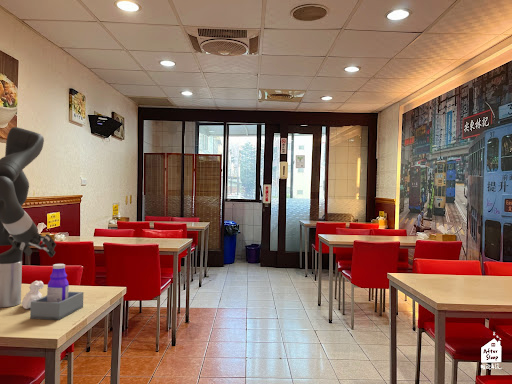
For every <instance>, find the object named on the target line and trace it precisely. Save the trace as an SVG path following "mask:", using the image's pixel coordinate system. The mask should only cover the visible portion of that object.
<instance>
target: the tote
mask: <svg viewBox="0 0 512 384" xmlns="http://www.w3.org/2000/svg"><path fill="white" fill-rule="evenodd" d="M82 308H84V291H68V298H67V299H65V300H63V301H61V302H47V295H44V296H42V298H39V299H37V300H35V301H32V302H31V308H30V309H29V310H30V314H29V316H30V317H29V318H30V319H32V320H51V321H60V320H62V319H64V318H66V317H68V316H69V315H71V314H73V313H75V312H77V311H79V310H81V309H82Z"/></svg>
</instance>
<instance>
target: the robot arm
mask: <svg viewBox="0 0 512 384" xmlns="http://www.w3.org/2000/svg"><path fill="white" fill-rule="evenodd" d="M44 142H45V138H44V136H43V135H42V134H40V133H39V132H35V131H33V130H28V129H25V128H22V127H17V126H13V127H11V128H10V129H9V130H8V133H7V136H6V142H5V143H6V144H5V151H4V152H5V153H4V154H5V155H4V156H2V157H1V158H0V247H4V246H5V247H6V246H11V248H10V249H8V250H6V251H4V252H2V253H0V308H9V307H14V306H17V305H20V304H22V276H23V274H22V273H23V272H22V270H23V269H22V267H23V253H24V255H26V256H27V257H30V256H31V255H32V254H33V250H32V249H31V247H35V248H37V249H39V250H44V251H45V252H46V253H47V255H48V257H50V258H53V257H54V256H55V254H56V251H55V247H56V246H57V244H56V241H55V240H54V239H53V238H52V236H51V235H50V234H49V233H48V234H45V235H41V234H40V233H39V230H38V227H37V225H36V224H35V222H34V221H33V219H32V218H31V217H30V215H29V214H28V213H27V212H26V211H25V210H24V208H23V205H24V204H25V203H26V201H27V199H28V194H29V188H30V183H29V180H28V177H27V175H26V173H25V172H24V169H25V168H26V167H27V166H29V164H31V163H32V162H33V161H34V160H36V159H37V158H38V157H39V155H40V154H41V152H42V150H43V148H44V144H45V143H44ZM40 243H41V244H40Z"/></svg>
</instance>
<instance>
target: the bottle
mask: <svg viewBox="0 0 512 384" xmlns="http://www.w3.org/2000/svg"><path fill="white" fill-rule="evenodd" d="M65 268H66V264H64V263H55V264H52V272H51V274H50V275H49V278H50V279H49V281H48V283H47V291H46V292H47V293H46V296H47V302H61V301H63V300H65V299H67V298H68V292H70V290H69V289H70V287H69V281H68V279H67V277H68V274H67V273H66V269H65Z"/></svg>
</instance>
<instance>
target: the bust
mask: <svg viewBox="0 0 512 384" xmlns="http://www.w3.org/2000/svg"><path fill="white" fill-rule="evenodd" d="M44 287H45V285H44V282H43V281H42V280H35V281H33V282H31V283H30V285H29V287H28V288H29V291H28V292H27V293H26V294H25V296H24V297H23V299H22V300H21V305H22V307H23V309H26V310H29V309H31V302H32V301H35V300H37V299H39V298H42V297H43V296H42V295H43V294H42V292H40V289H41V290H42V289H43V288H44Z"/></svg>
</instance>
